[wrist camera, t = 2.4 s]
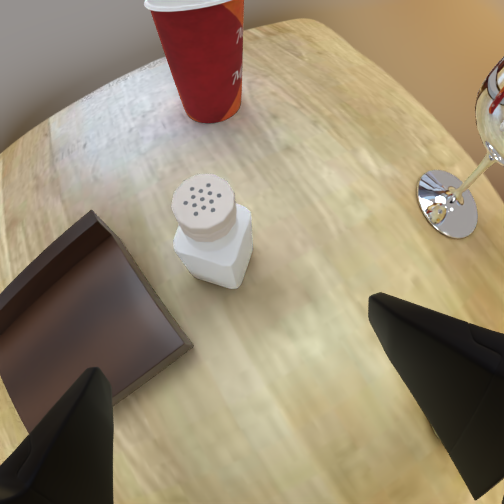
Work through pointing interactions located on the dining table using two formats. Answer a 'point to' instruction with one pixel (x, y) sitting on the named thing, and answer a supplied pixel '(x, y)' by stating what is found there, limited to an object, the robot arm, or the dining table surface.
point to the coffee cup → (203, 53)
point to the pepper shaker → (212, 230)
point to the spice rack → (82, 321)
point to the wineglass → (454, 190)
